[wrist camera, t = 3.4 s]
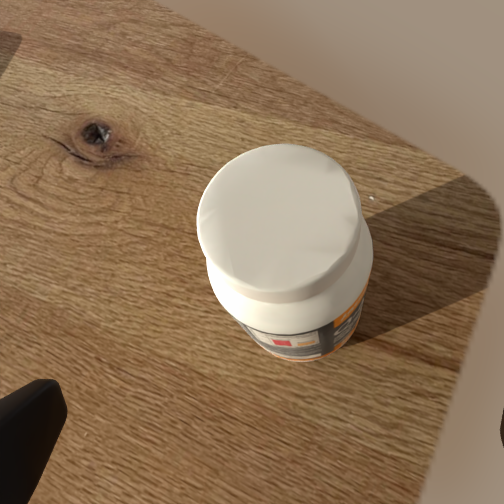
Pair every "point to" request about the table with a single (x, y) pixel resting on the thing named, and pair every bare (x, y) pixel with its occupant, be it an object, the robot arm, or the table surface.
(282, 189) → the pill bottle
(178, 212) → the table surface
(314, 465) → the table surface
